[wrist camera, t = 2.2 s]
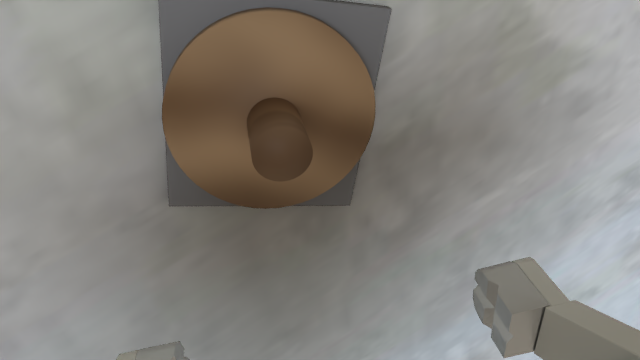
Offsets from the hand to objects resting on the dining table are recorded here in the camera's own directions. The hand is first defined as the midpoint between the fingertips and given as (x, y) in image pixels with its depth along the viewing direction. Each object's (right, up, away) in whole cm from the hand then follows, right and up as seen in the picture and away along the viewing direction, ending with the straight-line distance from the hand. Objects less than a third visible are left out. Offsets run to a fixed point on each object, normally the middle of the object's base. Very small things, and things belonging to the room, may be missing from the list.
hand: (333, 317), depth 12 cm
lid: (-3, +7, +12) cm, 14 cm away
